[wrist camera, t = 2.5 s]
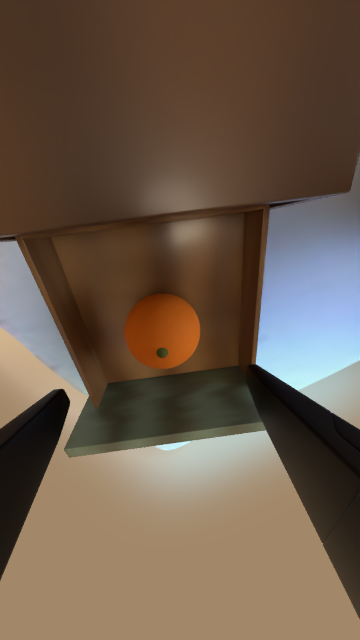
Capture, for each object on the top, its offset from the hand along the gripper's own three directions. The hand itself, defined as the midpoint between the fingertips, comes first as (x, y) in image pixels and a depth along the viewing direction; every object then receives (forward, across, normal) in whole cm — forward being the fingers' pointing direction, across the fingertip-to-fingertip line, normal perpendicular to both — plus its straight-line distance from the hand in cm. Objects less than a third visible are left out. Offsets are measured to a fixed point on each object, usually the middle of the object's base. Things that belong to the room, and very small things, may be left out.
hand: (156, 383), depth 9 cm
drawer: (+10, 0, +2) cm, 10 cm away
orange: (+9, 0, 0) cm, 9 cm away
